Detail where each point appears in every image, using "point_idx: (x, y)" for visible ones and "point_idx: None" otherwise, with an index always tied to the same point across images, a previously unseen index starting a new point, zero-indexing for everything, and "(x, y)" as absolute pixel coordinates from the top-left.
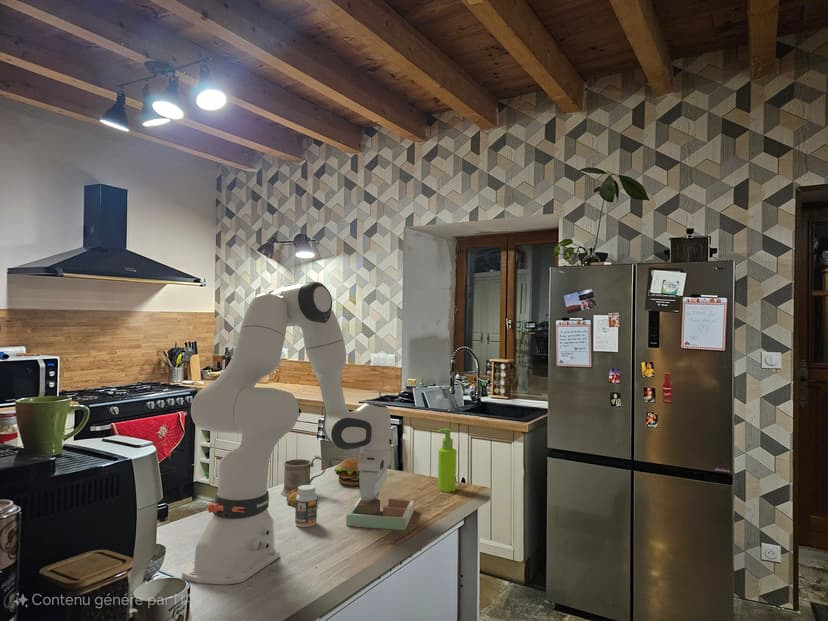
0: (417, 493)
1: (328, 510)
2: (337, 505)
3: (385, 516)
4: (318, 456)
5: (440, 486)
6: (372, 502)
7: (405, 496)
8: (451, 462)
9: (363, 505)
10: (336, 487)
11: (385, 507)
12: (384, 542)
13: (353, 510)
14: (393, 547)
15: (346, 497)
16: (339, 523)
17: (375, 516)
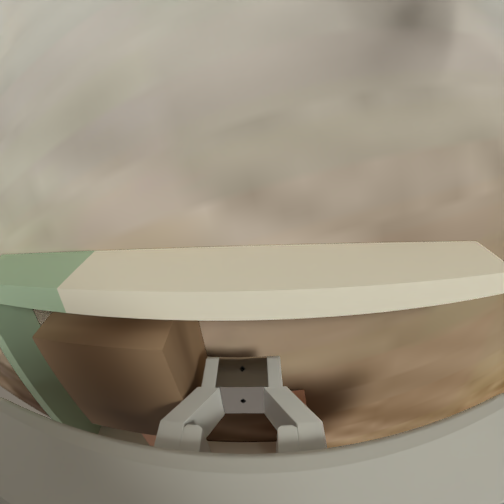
0: (477, 393)
1: (169, 23)
2: (315, 46)
3: (58, 421)
4: None
5: None
6: (125, 412)
7: (463, 380)
8: None
9: (54, 368)
10: None
11: (149, 435)
12: (9, 379)
13: (11, 305)
14: (9, 391)
15: (487, 100)
16: (4, 211)
17: (33, 395)
